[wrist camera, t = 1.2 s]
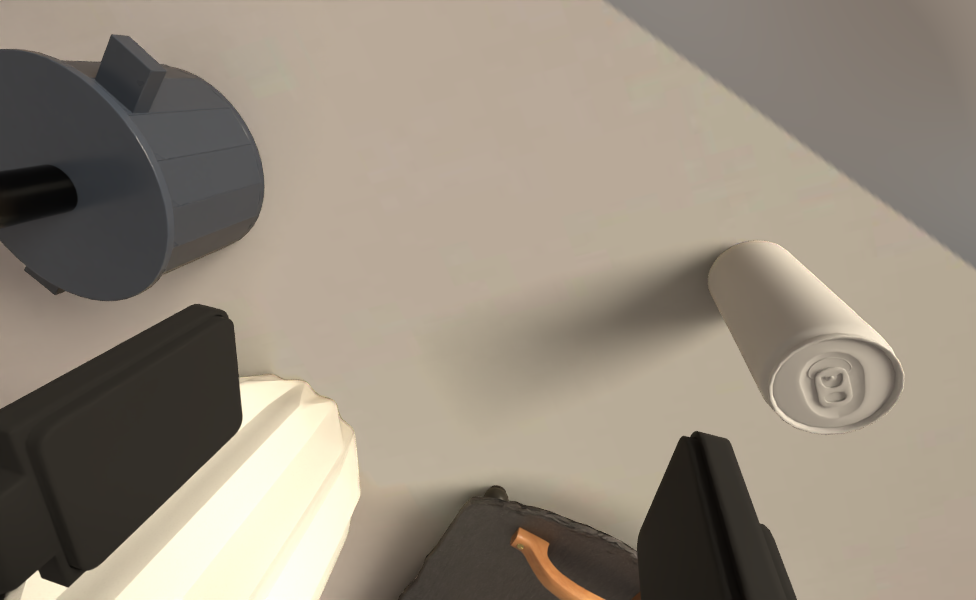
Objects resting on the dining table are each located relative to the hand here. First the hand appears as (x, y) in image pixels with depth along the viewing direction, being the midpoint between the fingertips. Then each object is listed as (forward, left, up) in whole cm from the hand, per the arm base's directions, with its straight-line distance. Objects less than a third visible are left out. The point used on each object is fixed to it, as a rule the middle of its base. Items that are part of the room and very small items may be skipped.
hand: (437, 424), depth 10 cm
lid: (-20, -17, -14) cm, 30 cm away
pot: (-20, -17, -22) cm, 34 cm away
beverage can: (+12, +5, -22) cm, 26 cm away
